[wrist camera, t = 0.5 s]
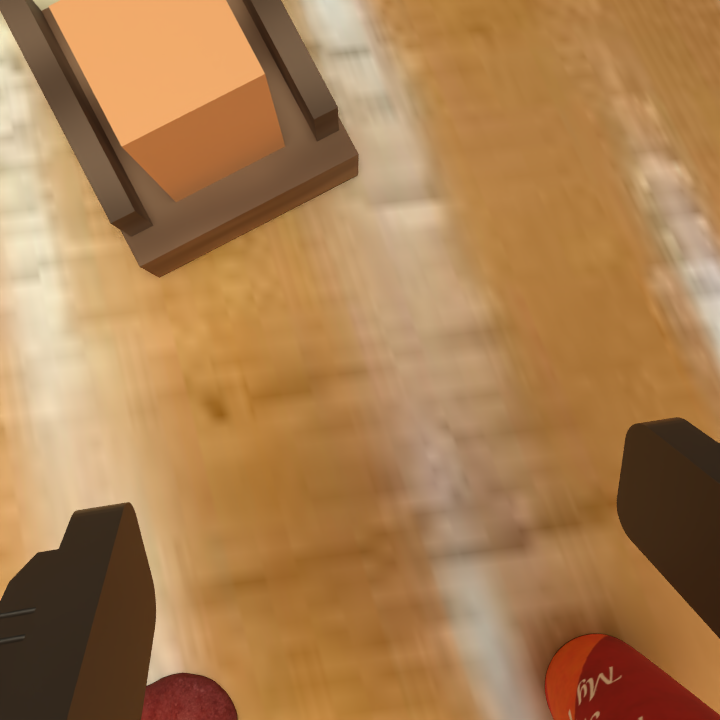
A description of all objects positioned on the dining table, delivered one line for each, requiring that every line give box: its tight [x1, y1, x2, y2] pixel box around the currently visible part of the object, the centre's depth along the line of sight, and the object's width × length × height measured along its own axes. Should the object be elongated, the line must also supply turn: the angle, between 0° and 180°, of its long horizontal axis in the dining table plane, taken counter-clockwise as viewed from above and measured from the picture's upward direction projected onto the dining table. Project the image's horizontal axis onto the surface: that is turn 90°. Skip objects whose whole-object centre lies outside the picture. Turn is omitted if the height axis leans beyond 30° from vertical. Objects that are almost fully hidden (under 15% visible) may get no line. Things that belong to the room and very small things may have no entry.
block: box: [49, 0, 285, 202], centre depth 26 cm, size 6×6×7 cm
